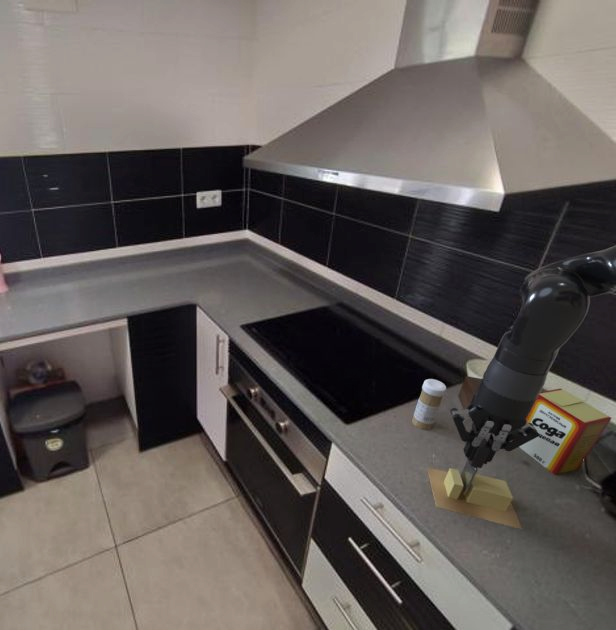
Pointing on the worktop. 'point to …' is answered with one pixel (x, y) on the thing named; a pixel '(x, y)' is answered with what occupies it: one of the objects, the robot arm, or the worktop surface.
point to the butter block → (489, 493)
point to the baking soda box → (563, 430)
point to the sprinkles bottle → (428, 403)
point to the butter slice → (453, 483)
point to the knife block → (469, 391)
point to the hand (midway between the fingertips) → (475, 458)
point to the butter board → (465, 507)
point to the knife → (474, 465)
